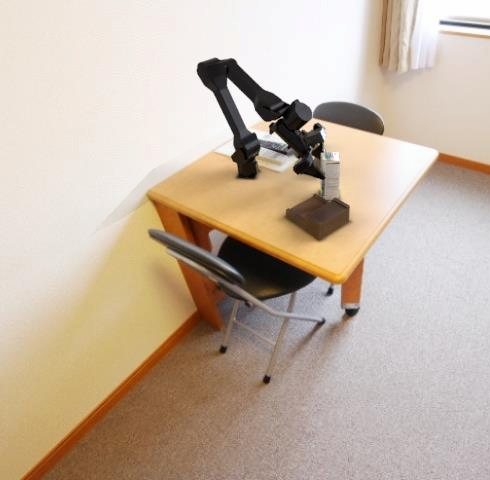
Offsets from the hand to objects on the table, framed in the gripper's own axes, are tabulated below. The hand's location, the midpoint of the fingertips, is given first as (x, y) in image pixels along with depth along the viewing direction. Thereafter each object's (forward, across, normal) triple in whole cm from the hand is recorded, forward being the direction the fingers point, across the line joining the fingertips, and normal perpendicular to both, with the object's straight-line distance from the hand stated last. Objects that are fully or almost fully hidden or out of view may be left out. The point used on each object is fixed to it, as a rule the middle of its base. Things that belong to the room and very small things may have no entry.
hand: (327, 171), depth 111 cm
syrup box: (+7, 0, +6) cm, 9 cm away
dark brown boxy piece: (+6, -13, +7) cm, 16 cm away
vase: (+3, +14, +10) cm, 17 cm away
